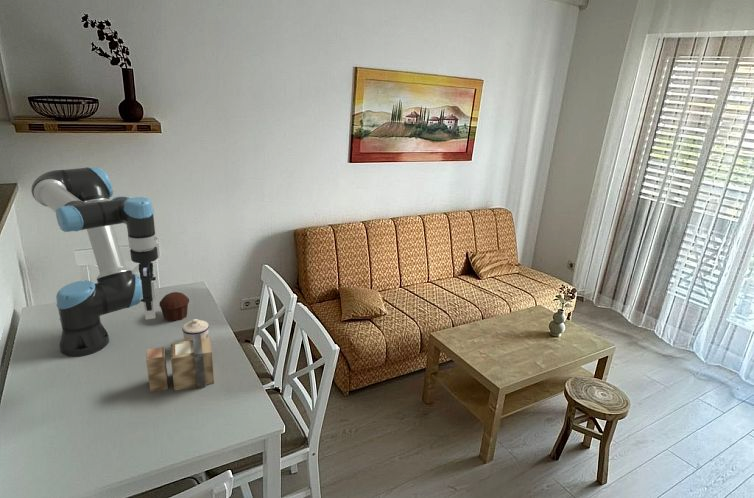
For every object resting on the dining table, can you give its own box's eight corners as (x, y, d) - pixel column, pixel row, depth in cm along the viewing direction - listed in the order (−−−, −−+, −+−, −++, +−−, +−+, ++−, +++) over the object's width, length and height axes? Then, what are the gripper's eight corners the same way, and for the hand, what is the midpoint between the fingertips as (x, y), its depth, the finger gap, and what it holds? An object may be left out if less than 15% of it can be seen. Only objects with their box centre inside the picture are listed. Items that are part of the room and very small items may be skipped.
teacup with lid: (211, 352, 166) (209, 324, 162) (184, 356, 163) (181, 327, 159) (209, 335, 176) (207, 308, 172) (184, 338, 173) (181, 311, 169)
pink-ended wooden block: (150, 392, 144) (146, 359, 139) (151, 380, 149) (146, 349, 144) (167, 388, 146) (164, 356, 141) (167, 377, 151) (164, 346, 146)
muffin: (183, 324, 183) (181, 302, 179) (155, 322, 183) (153, 300, 179) (194, 310, 194) (193, 289, 191) (168, 308, 194) (166, 287, 191)
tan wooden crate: (174, 393, 144) (170, 358, 139) (174, 371, 154) (170, 338, 149) (214, 385, 148) (212, 351, 144) (211, 365, 159) (209, 332, 154)
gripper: (156, 261, 132) (163, 325, 139) (157, 234, 153) (163, 291, 160) (127, 263, 129) (136, 328, 136) (132, 236, 150) (139, 293, 157)
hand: (151, 308), depth 148 cm, fingers open, 13 cm apart
